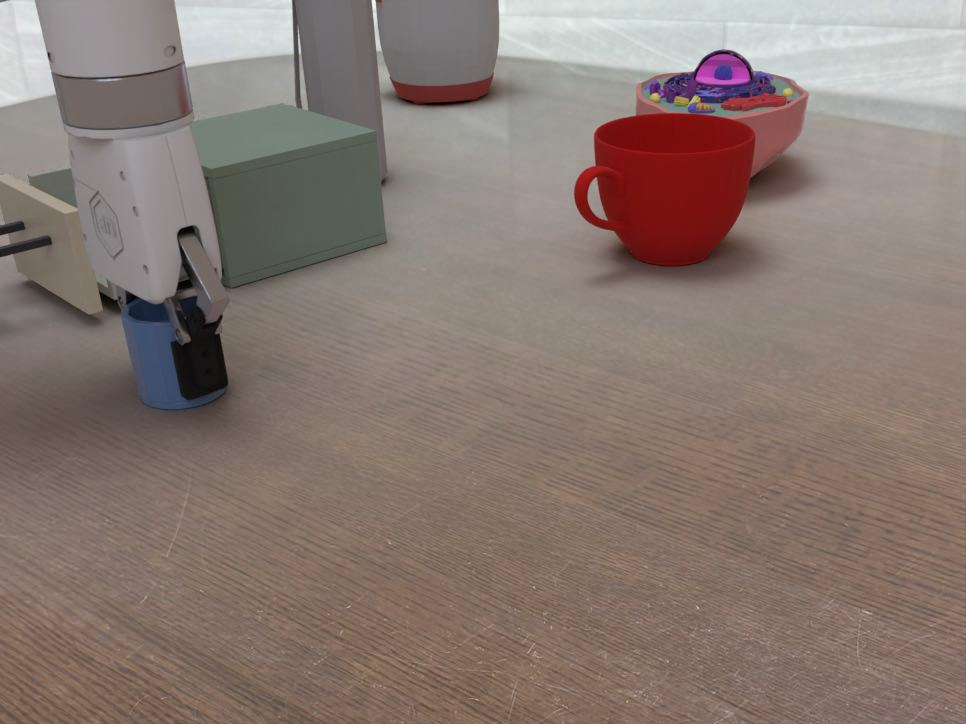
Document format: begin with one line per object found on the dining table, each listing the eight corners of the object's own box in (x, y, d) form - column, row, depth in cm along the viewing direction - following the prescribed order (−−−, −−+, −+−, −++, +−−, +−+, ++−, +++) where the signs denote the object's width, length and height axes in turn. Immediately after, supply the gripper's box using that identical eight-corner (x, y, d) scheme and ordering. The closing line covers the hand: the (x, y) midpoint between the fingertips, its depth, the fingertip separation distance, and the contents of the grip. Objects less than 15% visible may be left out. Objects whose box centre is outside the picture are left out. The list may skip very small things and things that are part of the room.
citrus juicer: (364, 86, 159) (348, -84, 148) (494, 78, 161) (487, -90, 150) (372, 114, 146) (354, -70, 135) (513, 105, 148) (507, -77, 137)
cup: (165, 418, 78) (147, 331, 75) (125, 390, 81) (106, 307, 78) (242, 390, 81) (228, 306, 78) (200, 365, 85) (185, 284, 81)
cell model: (609, 199, 115) (610, 75, 109) (654, 145, 131) (658, 34, 125) (787, 211, 111) (799, 83, 105) (812, 154, 127) (823, 39, 121)
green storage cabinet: (231, 288, 97) (211, 168, 92) (146, 246, 106) (123, 135, 101) (386, 242, 106) (376, 130, 101) (296, 207, 115) (282, 103, 110)
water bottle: (403, 175, 123) (380, -100, 110) (363, 196, 117) (333, -91, 104) (328, 166, 127) (296, -101, 113) (285, 187, 121) (246, -93, 107)
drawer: (16, 336, 87) (-13, 231, 83) (-52, 289, 96) (-81, 192, 92) (256, 267, 99) (241, 171, 95) (176, 230, 107) (160, 141, 103)
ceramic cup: (526, 263, 101) (523, 141, 95) (669, 218, 110) (673, 105, 104) (634, 305, 92) (636, 174, 87) (779, 253, 101) (790, 131, 96)
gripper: (4, 87, 74) (72, 357, 84) (133, 135, 63) (194, 439, 73) (118, 67, 78) (170, 327, 88) (257, 110, 68) (299, 400, 77)
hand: (180, 375), depth 81 cm, fingers closed on cup, 5 cm apart
